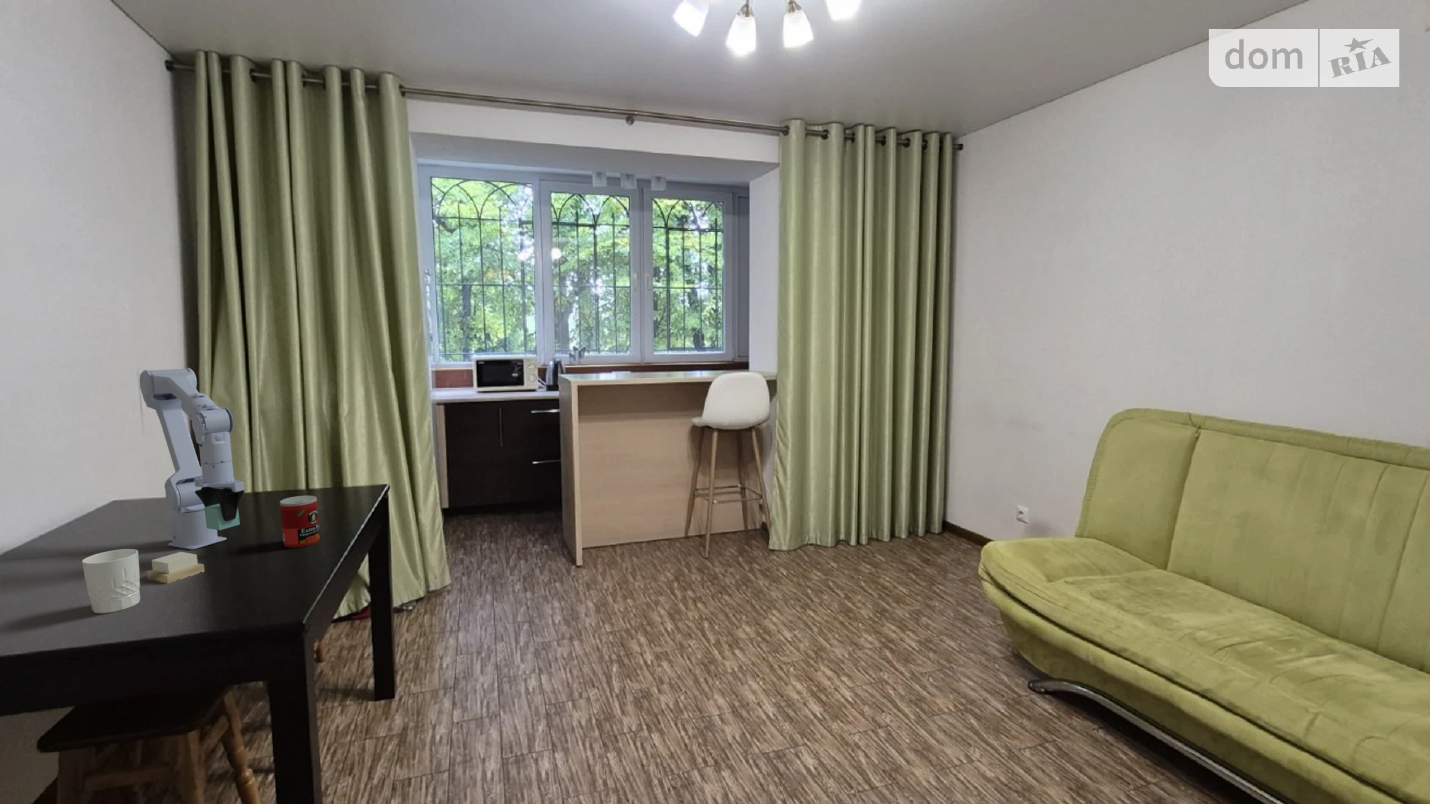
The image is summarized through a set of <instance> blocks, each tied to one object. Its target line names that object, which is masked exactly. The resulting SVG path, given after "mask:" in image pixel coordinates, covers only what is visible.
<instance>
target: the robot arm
mask: <svg viewBox="0 0 1430 804" xmlns="http://www.w3.org/2000/svg"><path fill="white" fill-rule="evenodd" d="M195 373H196V372H194V370H192V369H191V368H190V367H184V368H175V369H173V368H172V369H154V370H149V369H145V370H143V371H142V372H141V373H140V375H139V388H140V391H141V395H142V398H143V399H142V400H143V402H144V404H145V405H146V408H150V409H152V410H154V411H156V412H155V413H156V414H157V415H156V416H158V420H159V422H160V426H161V429H162V433H163V435H164V439H165V442H166V446H167V449H168V453H169V454H170V458H171V459H170V460H171V461H172V465H173V469H174V471H175V472H174V473H173V474H172V475H170V476H169V477H168V478H167V479H166V481H165V483H164V486H163V487H164V490H165V500H166V504H167V506H168V508H169V509H170V510H172V511H173V512H172V513H171V515H170V518H169V523H170V524H169V525H170V532H171V541H172V542H169V543H168V546H170V547H171V546H172V547H175V548H176V547H177V548H181V549H187V550H191V551H193V550H196V549H199V548H203V547H206V546H208V545H209V546H210V545H213V544H216V543H219V542H223V541H226V540H227V537H223V536H218V530H214V529H207V526H206V518H205V510H204V507H208V506H212V505H216V504H219V505H220V507H221V512H222V516H223V519H224V521H229V520H233V519H235V518H236V513H237V508H238V509H239V504H240V501H241V498H242V497H243V495H244V493H245V482H244V481H241V480H239V479H238V478H235V476H234V466H233V465H234V464H233V457H232V456H233V455H232V443H231V436H230V433H232V432H233V430H234V425H235V423H234V418H233V414H232V412H231V411H230V409H229V408H228V407H219V406H218V405H217V404H216V403H215V402H214V400H212V399H211V398H210V396H208V395H207V394H206V393H203V392H199V391H198V389H197V385H198V383H197V380H198V379H197V376H196V374H195ZM184 413H185V414H184ZM185 415H186V416H187V417H188V418H189V419H190V420H191V426H192V431H193V433H194V437H195V441H196V443H197V444H198V447H199V456H200V462H199V460H198V456H197V453H196V449H195V447H194V443H193V440H192V437H191V433H190V431H189V428H188V424H187V420H186V417H185ZM200 465H201V466H200Z"/></svg>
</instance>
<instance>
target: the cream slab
mask: <svg viewBox="0 0 1430 804" xmlns="http://www.w3.org/2000/svg"><path fill="white" fill-rule="evenodd" d="M194 565H198V555H197V554H195V553H190V552H189V553H188V552H185V551H184V552H183V551H178V552H175V553H172V554H169V555H165V556H161V557H158V558H155V559H152V560H151V566H152V570H154V571H159V572H164V573H172V572H175V571H179V570H182V569H185V568H188V567H191V566H194Z"/></svg>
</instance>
